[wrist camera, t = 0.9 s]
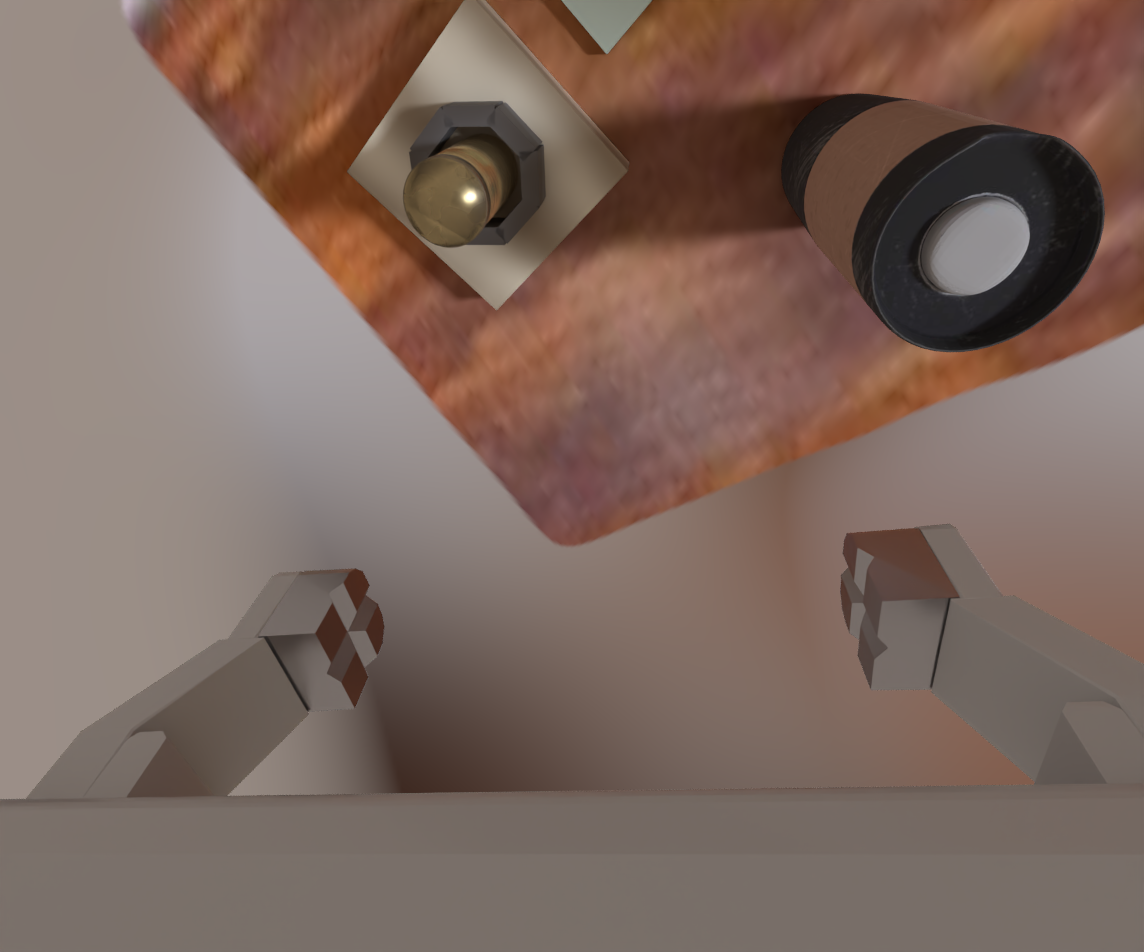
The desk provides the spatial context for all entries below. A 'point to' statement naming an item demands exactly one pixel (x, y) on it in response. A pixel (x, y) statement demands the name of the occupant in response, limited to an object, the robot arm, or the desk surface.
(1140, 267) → the desk surface
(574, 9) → the sage pad
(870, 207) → the travel mug
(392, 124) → the beige base with ring
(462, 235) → the brass peg
